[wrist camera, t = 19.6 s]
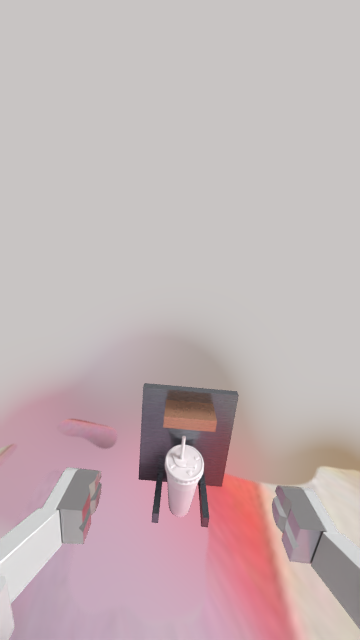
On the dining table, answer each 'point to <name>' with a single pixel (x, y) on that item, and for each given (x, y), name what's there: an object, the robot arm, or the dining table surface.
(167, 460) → the smoothie
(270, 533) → the dining table surface
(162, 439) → the gray menu stand
